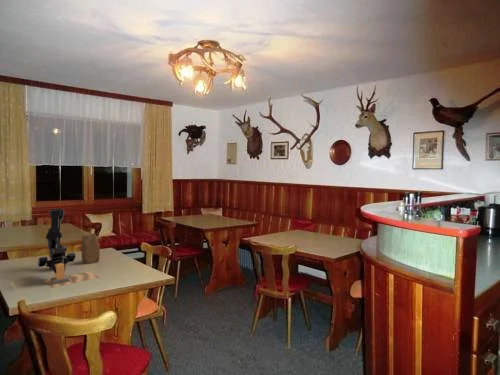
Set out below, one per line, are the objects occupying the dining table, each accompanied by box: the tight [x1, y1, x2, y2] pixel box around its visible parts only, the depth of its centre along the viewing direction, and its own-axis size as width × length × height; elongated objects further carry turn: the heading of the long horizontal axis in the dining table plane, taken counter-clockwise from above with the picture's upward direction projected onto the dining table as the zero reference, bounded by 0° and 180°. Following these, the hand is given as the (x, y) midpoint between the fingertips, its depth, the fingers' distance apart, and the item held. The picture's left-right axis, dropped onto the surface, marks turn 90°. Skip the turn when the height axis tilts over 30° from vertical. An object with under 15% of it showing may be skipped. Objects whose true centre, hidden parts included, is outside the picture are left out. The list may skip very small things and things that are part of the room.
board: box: [43, 271, 101, 289], centre depth 208 cm, size 26×16×1 cm, turn 134°
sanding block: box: [50, 263, 69, 285], centre depth 203 cm, size 8×7×10 cm
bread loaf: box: [81, 232, 101, 265], centre depth 246 cm, size 11×8×20 cm
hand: (60, 272), depth 201 cm, fingers closed on sanding block, 4 cm apart
